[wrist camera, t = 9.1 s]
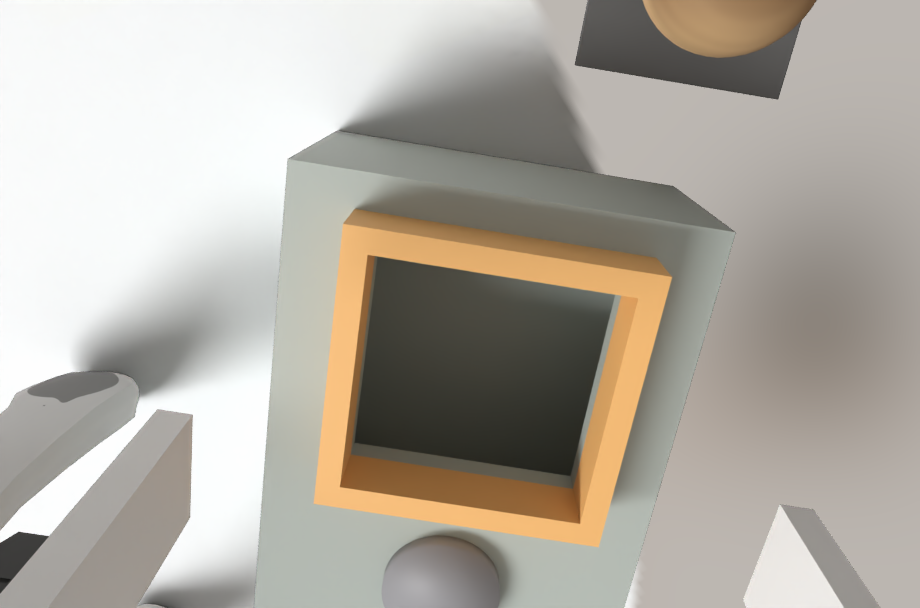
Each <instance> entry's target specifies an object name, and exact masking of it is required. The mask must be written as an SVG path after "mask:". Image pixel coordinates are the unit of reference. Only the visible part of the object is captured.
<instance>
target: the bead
mask: <svg viewBox="0 0 920 608" xmlns="http://www.w3.org/2000/svg"><path fill="white" fill-rule="evenodd" d="M815 2H816V0H643V3H644V6H645V9H646V11H647V13H648V15H649V17H650V19H651V20H652V22H653V23H654V24H655V26H656V27H657V29H658V30H659V31H660V32H661V33H662V34H663V35H664V36H665V37H666V38H667V39H669V40H670V41H671V42H672V43H674V44H675V45H677V46H679V47H680V48H682V49H684V50H687V51H689V52H692V53H694V54H698V55H702V56H706V57H715V58H725V57H735V56H740V55H746V54H749V53H752V52H755V51H758V50H760V49H762V48H765V47H767V46H769V45H770V44H772V43H774V42H775V41H777V40H779V39H780V38H782V37H783V36H785V35H786V34H787V33H788V32H790V31H791V30H792V29H793V28H794V27H795V26H796V25H797V24H798V23H800V22H801V21H802V19H803V18H804V17H805V16H806V14H807V13H808V12H809V11H810V9H811V8H812V6H813V5H814V3H815Z"/></svg>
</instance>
